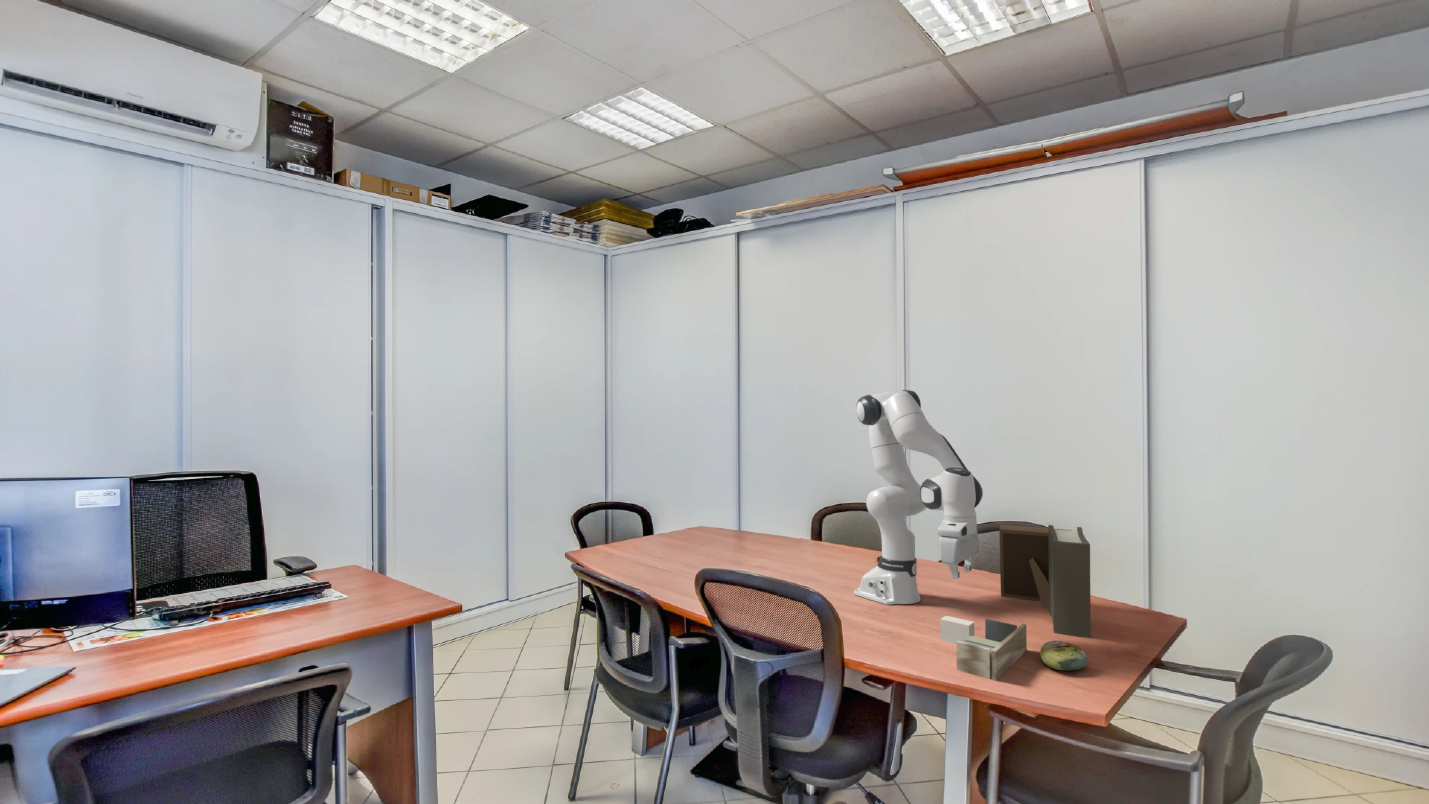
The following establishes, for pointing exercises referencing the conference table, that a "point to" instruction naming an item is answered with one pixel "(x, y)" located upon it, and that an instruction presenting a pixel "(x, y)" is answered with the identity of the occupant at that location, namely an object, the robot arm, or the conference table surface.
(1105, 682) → the conference table surface
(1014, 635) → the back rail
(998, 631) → the bookend
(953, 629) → the book ivory
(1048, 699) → the conference table surface
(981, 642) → the book olive
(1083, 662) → the cell model
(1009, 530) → the photo frame
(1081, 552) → the book
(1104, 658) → the conference table surface
